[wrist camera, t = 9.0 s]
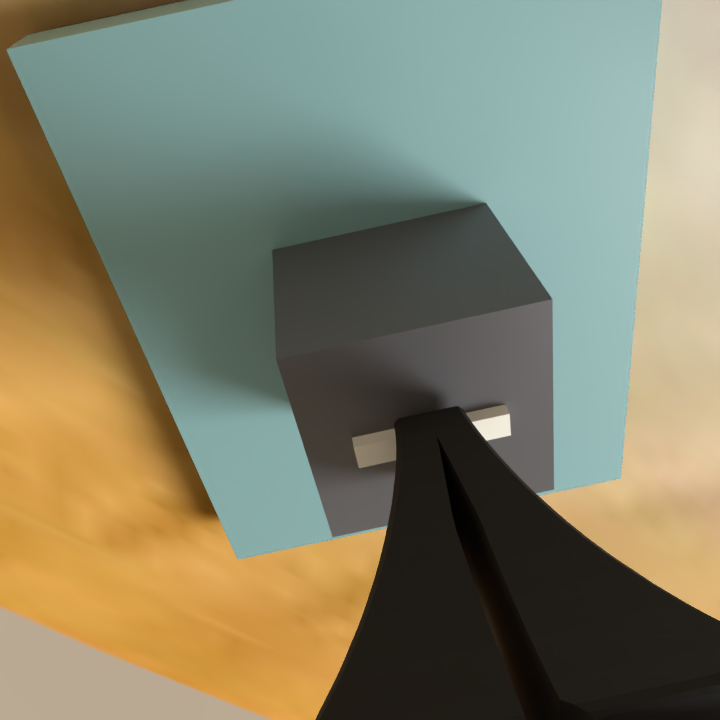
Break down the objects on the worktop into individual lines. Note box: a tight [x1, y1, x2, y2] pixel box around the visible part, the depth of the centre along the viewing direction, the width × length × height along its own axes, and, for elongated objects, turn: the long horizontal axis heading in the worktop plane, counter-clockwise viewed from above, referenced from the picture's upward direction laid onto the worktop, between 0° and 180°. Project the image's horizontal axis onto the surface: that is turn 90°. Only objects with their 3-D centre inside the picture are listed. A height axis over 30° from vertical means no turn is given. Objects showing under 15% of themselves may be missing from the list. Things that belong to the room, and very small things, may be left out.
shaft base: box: [6, 0, 662, 559], centre depth 17 cm, size 13×16×4 cm
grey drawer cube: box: [272, 203, 554, 537], centre depth 16 cm, size 5×5×5 cm
